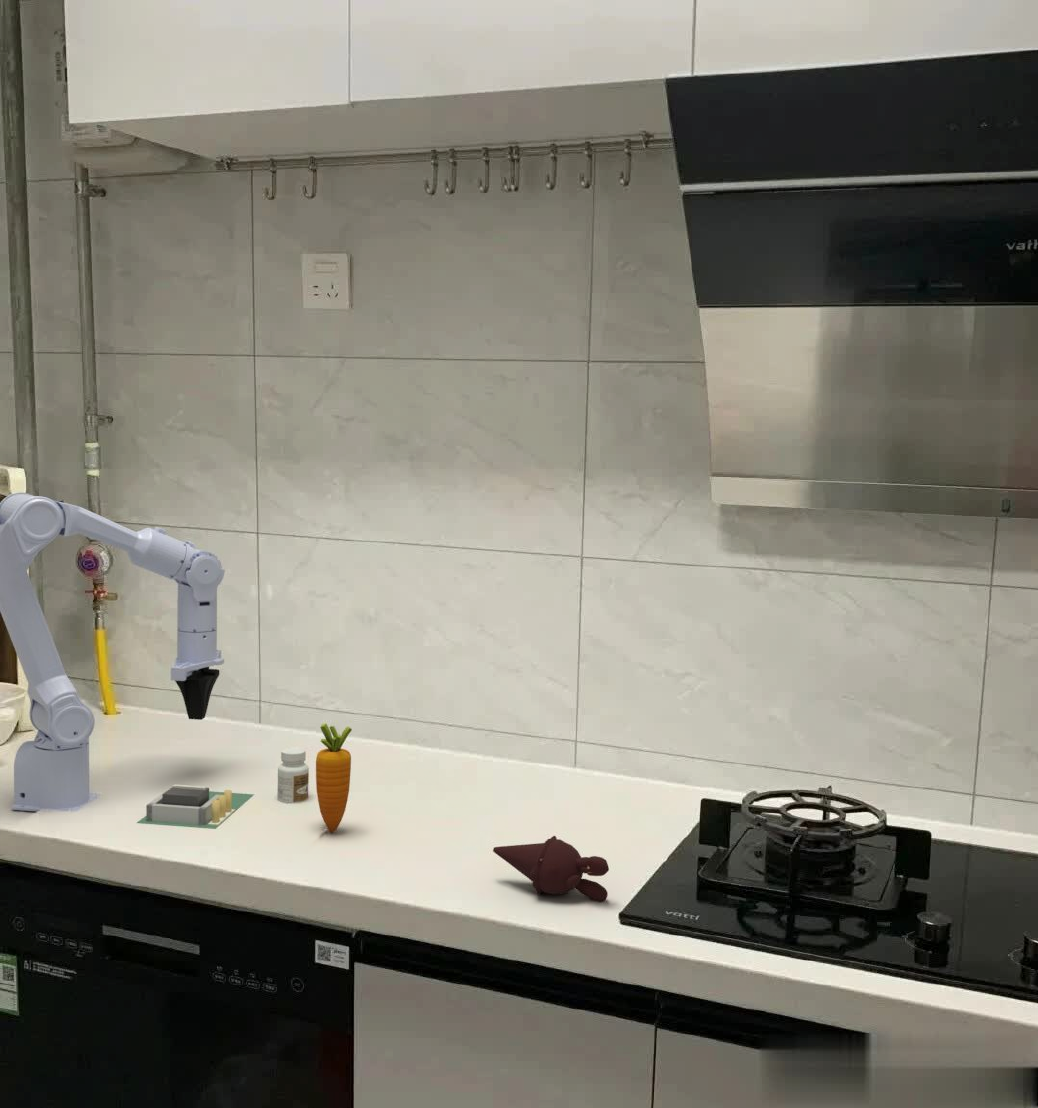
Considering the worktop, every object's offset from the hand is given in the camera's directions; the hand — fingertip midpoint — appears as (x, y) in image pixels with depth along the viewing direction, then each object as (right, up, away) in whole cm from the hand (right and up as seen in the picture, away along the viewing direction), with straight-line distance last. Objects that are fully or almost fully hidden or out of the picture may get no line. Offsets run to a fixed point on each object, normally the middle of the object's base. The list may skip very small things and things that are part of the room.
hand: (196, 718), depth 175 cm
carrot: (+23, -13, -19) cm, 33 cm away
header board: (+4, -11, -12) cm, 17 cm away
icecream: (+52, -16, -37) cm, 66 cm away
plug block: (+3, -11, -16) cm, 20 cm away
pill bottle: (+16, -11, -7) cm, 21 cm away
